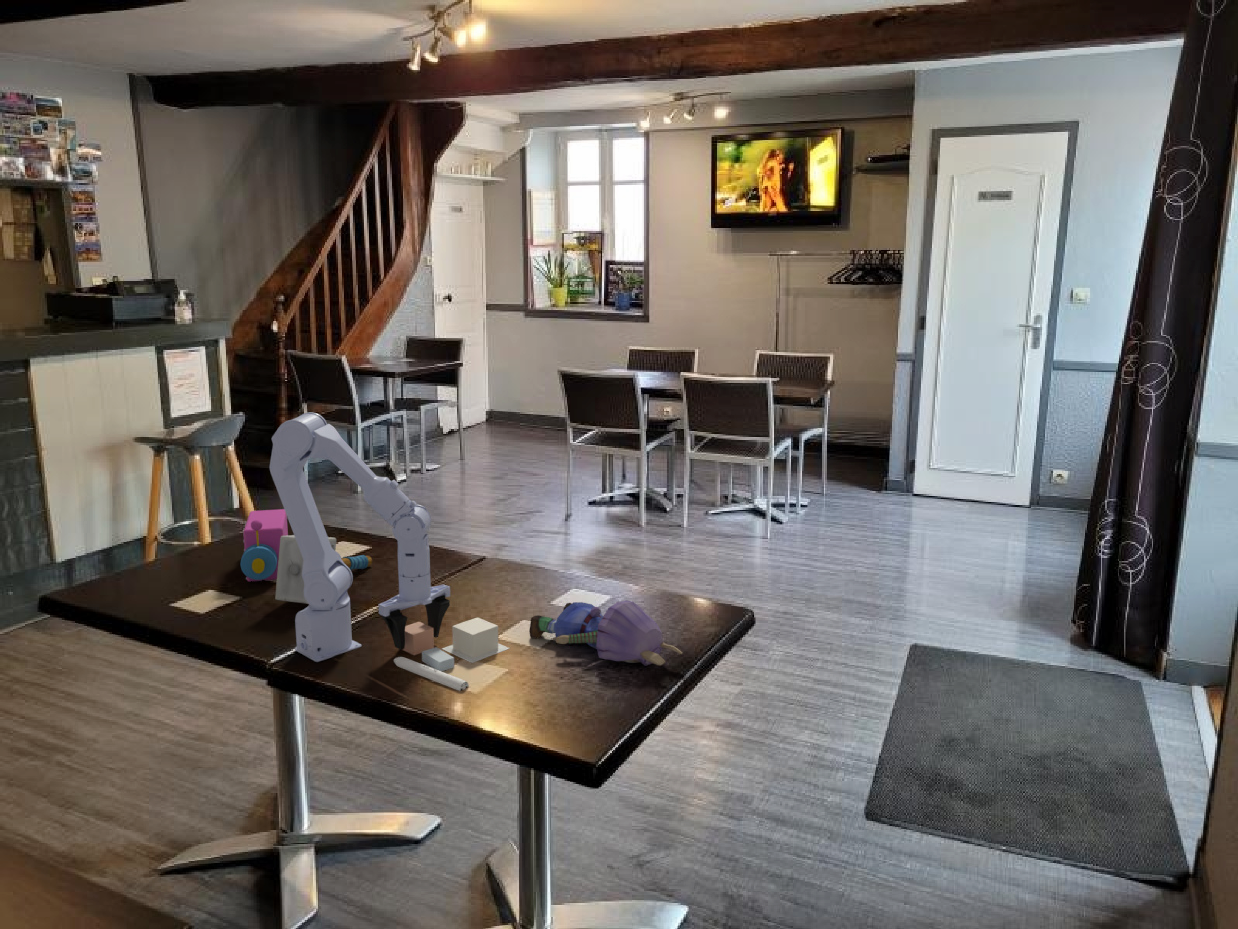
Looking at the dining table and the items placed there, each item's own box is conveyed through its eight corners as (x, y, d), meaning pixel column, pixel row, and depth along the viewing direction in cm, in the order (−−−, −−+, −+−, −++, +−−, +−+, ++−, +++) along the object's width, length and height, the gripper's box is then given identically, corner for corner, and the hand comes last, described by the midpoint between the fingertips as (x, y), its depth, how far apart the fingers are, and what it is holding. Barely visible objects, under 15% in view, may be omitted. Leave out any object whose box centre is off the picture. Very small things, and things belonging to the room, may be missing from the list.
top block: (414, 657, 168) (413, 634, 167) (399, 650, 171) (398, 628, 170) (434, 650, 171) (433, 628, 170) (419, 643, 174) (419, 621, 173)
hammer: (349, 587, 218) (272, 600, 189) (354, 531, 219) (277, 535, 190) (380, 591, 216) (307, 604, 187) (385, 534, 217) (313, 539, 188)
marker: (389, 667, 164) (389, 654, 164) (398, 663, 166) (398, 651, 165) (460, 695, 154) (459, 682, 153) (469, 691, 156) (468, 678, 155)
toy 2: (520, 652, 174) (642, 689, 155) (516, 598, 173) (640, 629, 153) (582, 625, 188) (702, 657, 169) (580, 575, 186) (701, 601, 167)
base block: (473, 658, 167) (472, 634, 166) (452, 648, 171) (452, 626, 170) (498, 648, 171) (498, 625, 170) (477, 639, 175) (477, 617, 174)
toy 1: (252, 553, 226) (247, 494, 223) (290, 550, 229) (286, 492, 226) (241, 590, 201) (236, 524, 197) (284, 587, 203) (280, 522, 200)
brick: (454, 670, 163) (454, 657, 163) (439, 675, 161) (439, 662, 161) (436, 660, 167) (436, 647, 167) (422, 664, 165) (421, 651, 165)
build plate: (471, 665, 165) (471, 662, 165) (441, 650, 171) (441, 648, 171) (509, 650, 171) (509, 648, 171) (479, 637, 177) (479, 635, 177)
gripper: (393, 587, 160) (396, 659, 163) (459, 568, 170) (461, 636, 173) (370, 578, 164) (374, 648, 167) (436, 559, 175) (438, 626, 178)
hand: (416, 641), depth 170 cm, fingers open, 7 cm apart
